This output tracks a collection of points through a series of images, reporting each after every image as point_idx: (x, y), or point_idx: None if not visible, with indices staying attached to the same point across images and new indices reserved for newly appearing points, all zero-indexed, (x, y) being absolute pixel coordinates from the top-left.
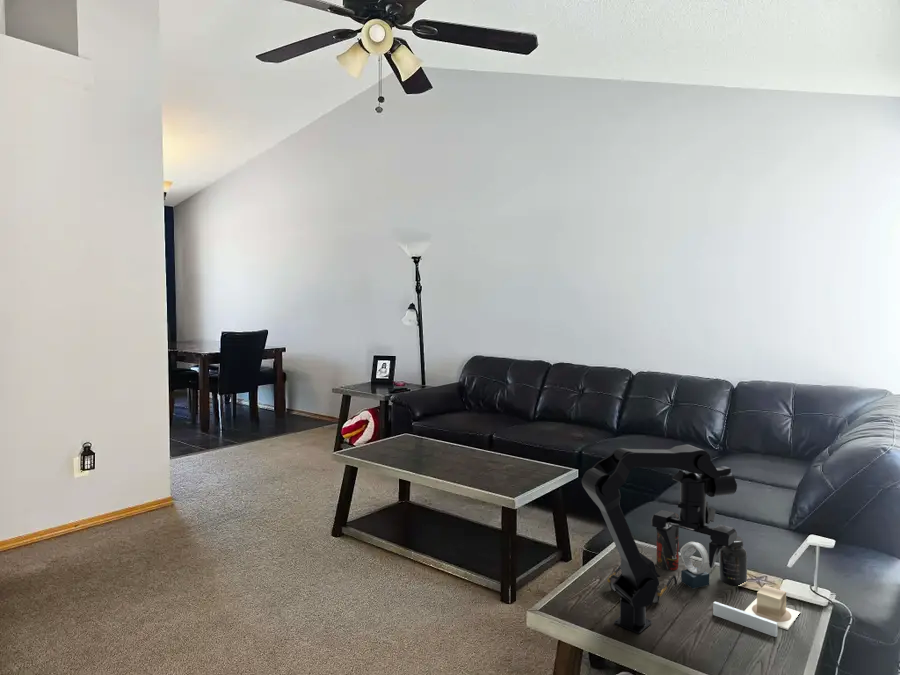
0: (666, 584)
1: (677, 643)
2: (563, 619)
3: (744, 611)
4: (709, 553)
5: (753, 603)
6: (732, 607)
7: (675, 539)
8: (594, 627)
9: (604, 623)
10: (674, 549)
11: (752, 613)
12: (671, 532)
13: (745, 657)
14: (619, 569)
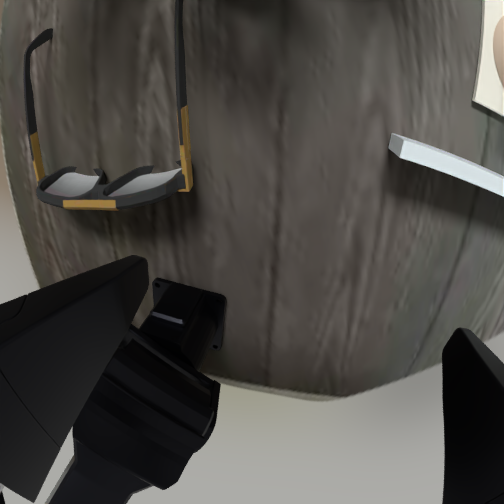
0: (178, 103)
1: (310, 347)
2: None
3: (501, 179)
4: (446, 491)
5: (489, 17)
6: (467, 165)
7: (40, 326)
8: None
9: None
10: (116, 310)
11: (499, 93)
12: (6, 444)
13: None
14: (31, 95)
